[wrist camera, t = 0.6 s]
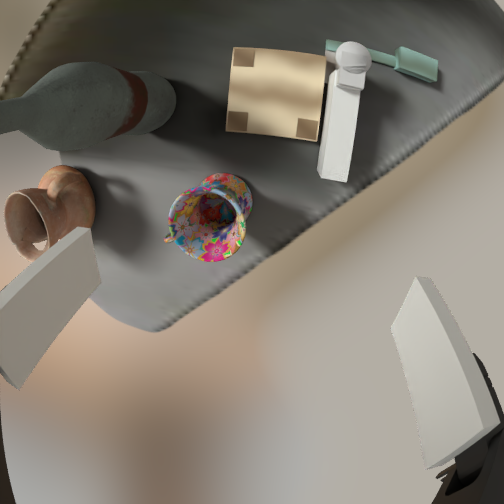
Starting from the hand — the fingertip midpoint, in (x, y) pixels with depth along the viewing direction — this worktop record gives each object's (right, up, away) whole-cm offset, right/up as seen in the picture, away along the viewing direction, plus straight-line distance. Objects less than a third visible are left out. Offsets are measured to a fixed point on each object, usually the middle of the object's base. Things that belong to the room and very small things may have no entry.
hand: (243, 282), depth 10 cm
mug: (-5, +8, +31) cm, 33 cm away
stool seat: (+12, +23, +21) cm, 33 cm away
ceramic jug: (-33, +11, +34) cm, 48 cm away
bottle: (-14, +23, +25) cm, 37 cm away
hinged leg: (+12, +20, +22) cm, 32 cm away
